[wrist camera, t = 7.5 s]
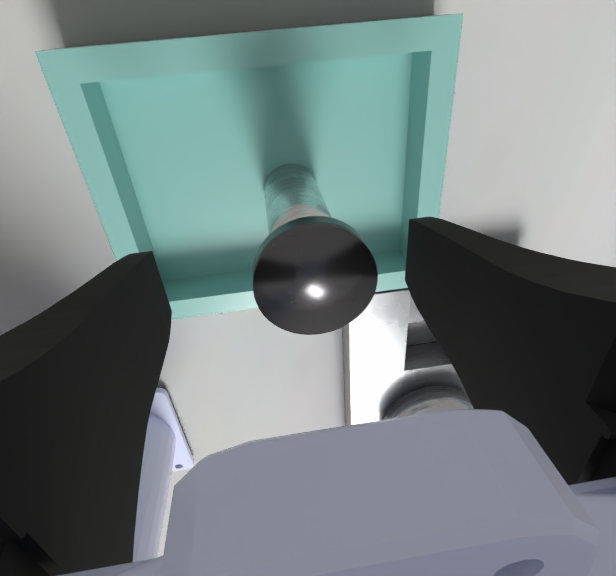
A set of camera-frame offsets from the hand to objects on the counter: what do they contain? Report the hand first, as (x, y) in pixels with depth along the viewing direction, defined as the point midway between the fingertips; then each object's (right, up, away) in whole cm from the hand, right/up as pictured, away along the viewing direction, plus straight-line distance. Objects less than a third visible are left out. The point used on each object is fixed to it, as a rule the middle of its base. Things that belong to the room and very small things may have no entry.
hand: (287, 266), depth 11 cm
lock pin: (0, +4, +7) cm, 8 cm away
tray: (-1, +5, +7) cm, 8 cm away
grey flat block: (+8, -5, +15) cm, 17 cm away
